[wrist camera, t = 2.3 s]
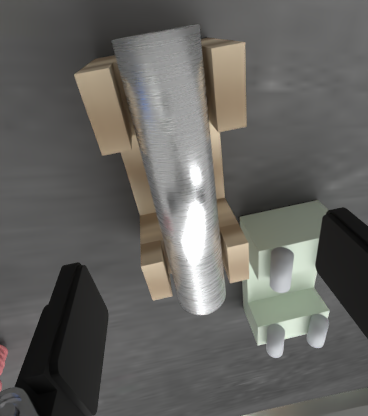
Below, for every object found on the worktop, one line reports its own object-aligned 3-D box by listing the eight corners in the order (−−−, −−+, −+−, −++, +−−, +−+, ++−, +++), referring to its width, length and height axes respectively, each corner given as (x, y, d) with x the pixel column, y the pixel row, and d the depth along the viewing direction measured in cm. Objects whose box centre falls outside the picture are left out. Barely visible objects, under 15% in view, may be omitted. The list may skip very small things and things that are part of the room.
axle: (114, 38, 10) (107, 42, 8) (191, 24, 10) (208, 23, 8) (175, 280, 18) (181, 319, 16) (218, 270, 18) (231, 308, 16)
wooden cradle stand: (95, 58, 14) (73, 74, 9) (208, 37, 14) (244, 42, 9) (149, 238, 21) (153, 300, 16) (223, 222, 21) (249, 278, 16)
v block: (239, 216, 21) (267, 266, 17) (317, 200, 21) (365, 244, 17) (243, 308, 28) (263, 361, 23) (302, 294, 28) (333, 344, 24)
